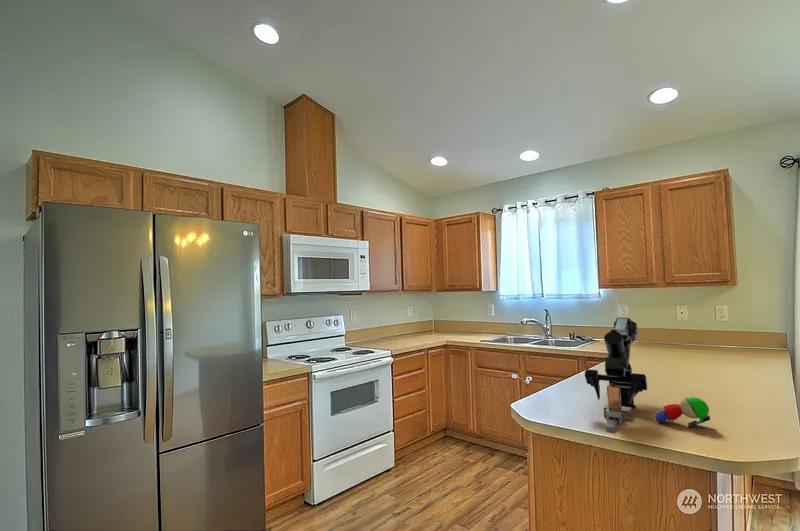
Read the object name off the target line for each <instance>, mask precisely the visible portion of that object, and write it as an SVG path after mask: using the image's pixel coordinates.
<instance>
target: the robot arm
mask: <svg viewBox="0 0 800 531" xmlns="http://www.w3.org/2000/svg"><path fill="white" fill-rule="evenodd" d="M638 335H639V332H638V324H637V322H635V321H633V320H632V319H631V318H630V317H628V316H627V317H626V316H618V317H616V318H615V321H614V322H613V329H610V331H609V332H607V333H605V334H604V336H603V338H604V344H605V347H606V348H605V349H606V351H607V352H608V353H607V357H605V358H604V372H605V373H604V374H603V373H599V371H598V369H591V368H589V369H586V370H585V371H584V378H585V382H586V383H587V385H590V386H591V387H593V388H594V390H595V394H596V397H597V400H600V399H601V398H600V397H601V385H600V381H606V382H608V383H609V384H608V385H616V386H620V391H621V406H624V407H631V408H636V407H637V405H636V404H635V403H634V402H635V401H634V399H635V396H637V395H638V394H639V393H640V392H641V393H642V392H643V391H648V380H647V376H646V374H644V373H635V372H633V368H632V366H631V364H630V358H631V356H630V355H631V346H632V345H631V344H632V343H633V342H635V341H636V337H637V336H638Z"/></svg>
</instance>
